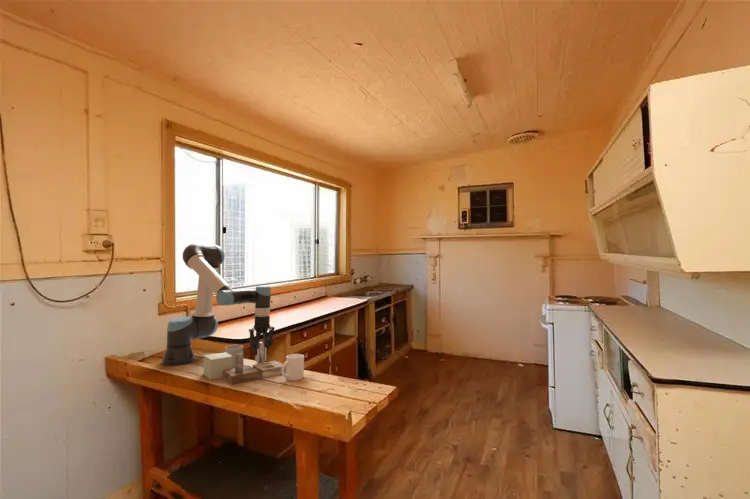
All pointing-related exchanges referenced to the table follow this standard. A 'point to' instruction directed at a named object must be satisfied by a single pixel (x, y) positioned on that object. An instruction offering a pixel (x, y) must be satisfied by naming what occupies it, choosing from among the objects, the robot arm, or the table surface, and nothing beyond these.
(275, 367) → the square block with hole
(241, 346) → the mug
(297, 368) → the mug
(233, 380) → the board
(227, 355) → the block
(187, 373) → the table surface
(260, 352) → the pin
